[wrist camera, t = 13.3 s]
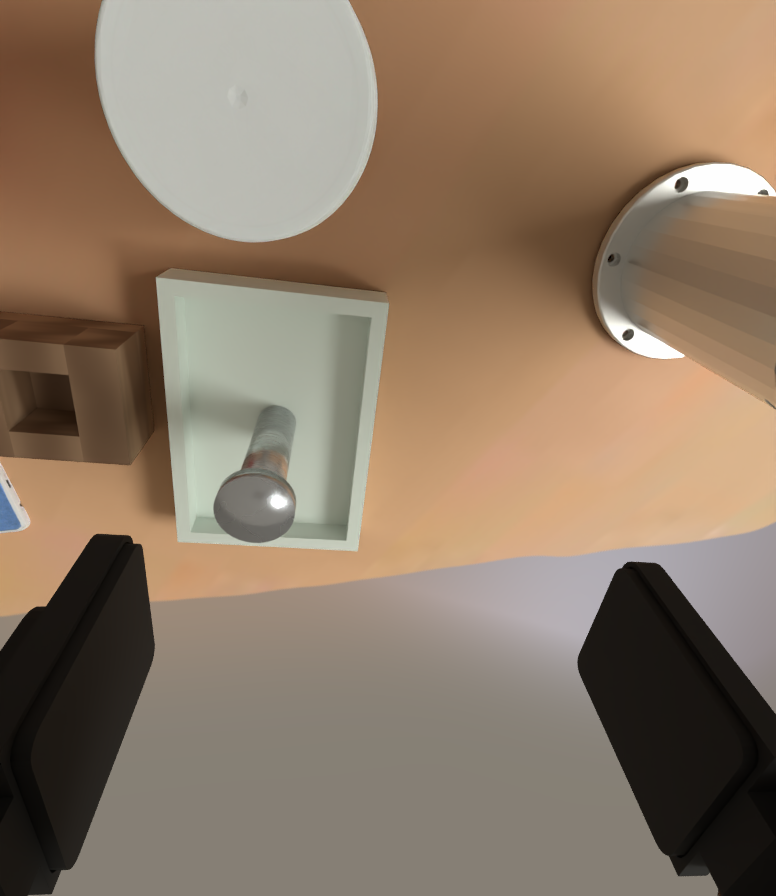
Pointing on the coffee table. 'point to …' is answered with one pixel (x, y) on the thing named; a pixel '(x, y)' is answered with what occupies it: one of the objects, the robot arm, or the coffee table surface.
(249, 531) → the pin
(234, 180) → the supplement tub
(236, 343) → the tray
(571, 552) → the coffee table surface
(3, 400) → the hitch block
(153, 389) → the coffee table surface
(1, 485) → the tablet computer
